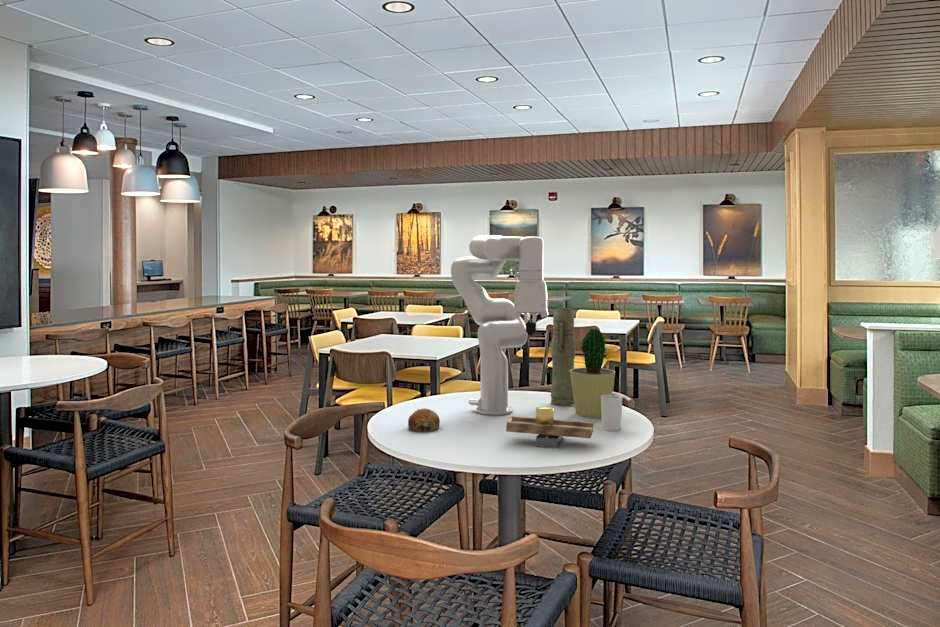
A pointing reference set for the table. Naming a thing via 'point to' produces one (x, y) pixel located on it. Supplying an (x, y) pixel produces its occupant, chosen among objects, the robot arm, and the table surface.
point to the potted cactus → (591, 376)
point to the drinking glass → (611, 412)
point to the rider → (544, 415)
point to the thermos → (562, 357)
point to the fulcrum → (548, 441)
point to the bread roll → (423, 420)
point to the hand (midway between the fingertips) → (530, 335)
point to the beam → (551, 427)
